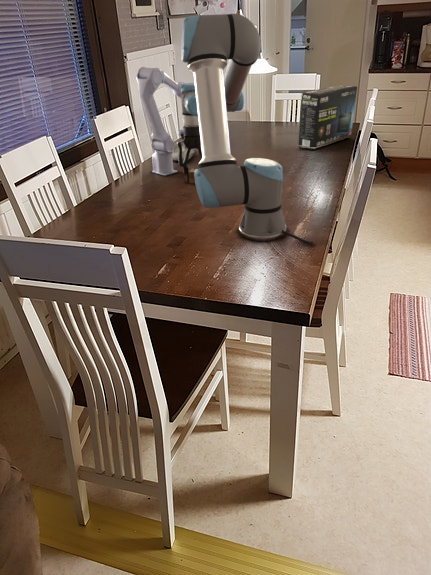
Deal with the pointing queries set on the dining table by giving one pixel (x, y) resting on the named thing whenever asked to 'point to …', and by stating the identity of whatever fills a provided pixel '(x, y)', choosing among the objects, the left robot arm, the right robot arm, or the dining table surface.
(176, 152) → the fossil
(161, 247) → the dining table surface
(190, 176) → the block
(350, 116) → the router box
